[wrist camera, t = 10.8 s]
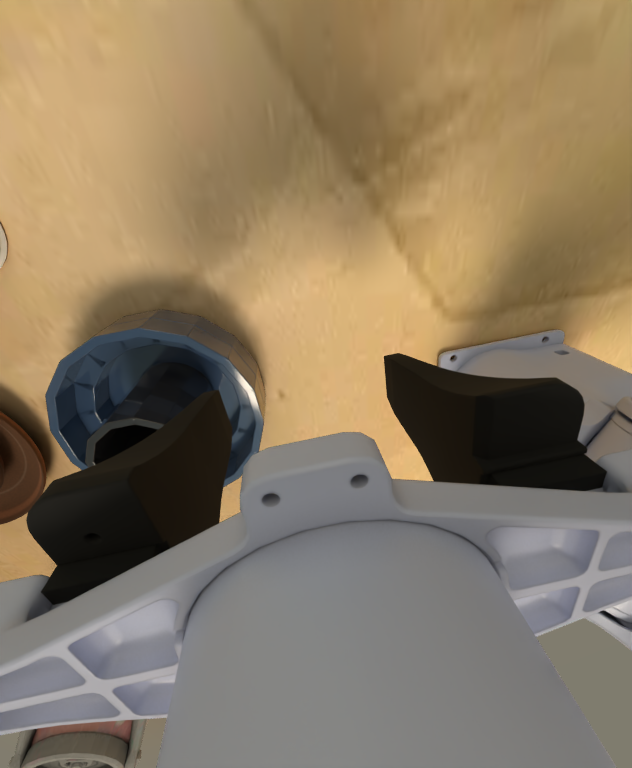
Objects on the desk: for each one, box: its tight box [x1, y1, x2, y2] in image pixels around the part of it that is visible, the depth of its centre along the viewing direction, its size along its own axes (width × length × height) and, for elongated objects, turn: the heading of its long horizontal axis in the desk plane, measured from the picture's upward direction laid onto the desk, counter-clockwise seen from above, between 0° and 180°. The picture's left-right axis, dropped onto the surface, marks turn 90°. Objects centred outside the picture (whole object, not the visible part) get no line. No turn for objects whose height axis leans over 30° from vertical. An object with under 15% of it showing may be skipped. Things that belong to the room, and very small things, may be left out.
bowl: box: [45, 309, 265, 487], centre depth 22 cm, size 12×12×4 cm
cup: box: [85, 362, 214, 467], centre depth 20 cm, size 5×5×7 cm
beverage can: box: [8, 719, 149, 768], centre depth 28 cm, size 9×8×12 cm
